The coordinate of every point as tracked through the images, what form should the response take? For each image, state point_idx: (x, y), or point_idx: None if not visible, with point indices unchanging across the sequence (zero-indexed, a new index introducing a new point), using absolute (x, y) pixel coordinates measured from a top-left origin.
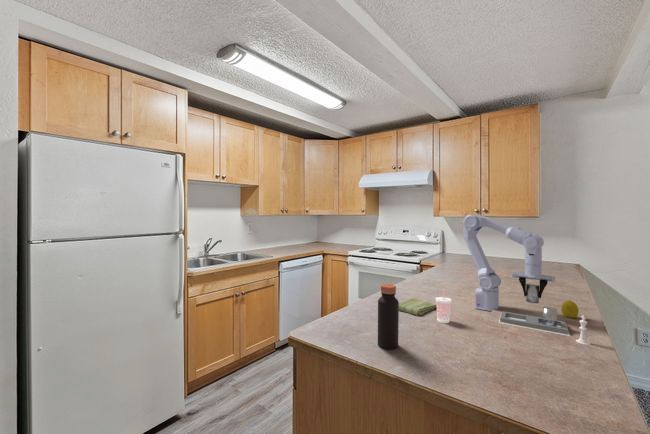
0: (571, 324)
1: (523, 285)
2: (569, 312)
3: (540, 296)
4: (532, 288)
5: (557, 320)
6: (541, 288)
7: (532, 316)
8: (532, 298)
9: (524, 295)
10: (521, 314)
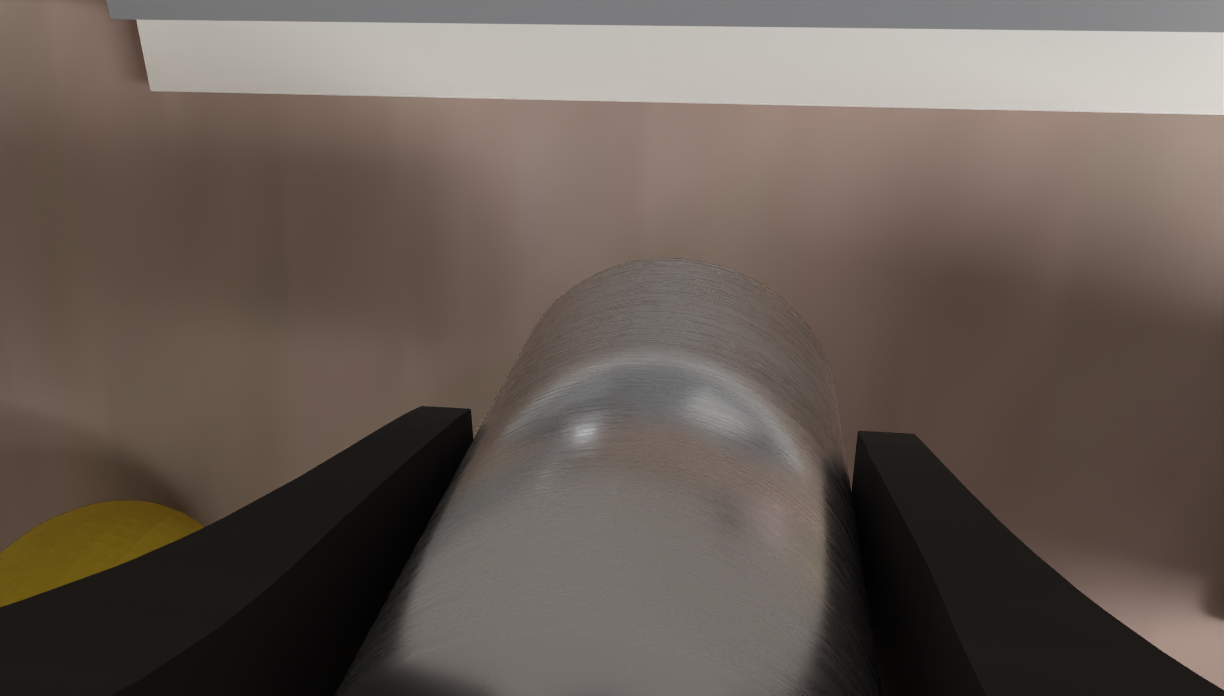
0: (139, 295)
1: (1118, 681)
2: (92, 529)
3: (405, 426)
4: (619, 547)
5: (234, 15)
6: (199, 574)
7: (699, 4)
8: (663, 315)
9: (918, 440)
10: (936, 23)
